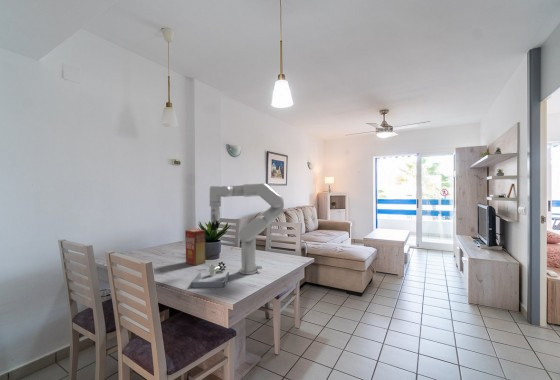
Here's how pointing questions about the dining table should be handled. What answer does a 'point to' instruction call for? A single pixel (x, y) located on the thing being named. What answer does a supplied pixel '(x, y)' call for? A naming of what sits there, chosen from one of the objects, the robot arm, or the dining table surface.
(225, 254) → the dining table surface
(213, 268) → the valve
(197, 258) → the food packaging
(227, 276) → the tray frame
